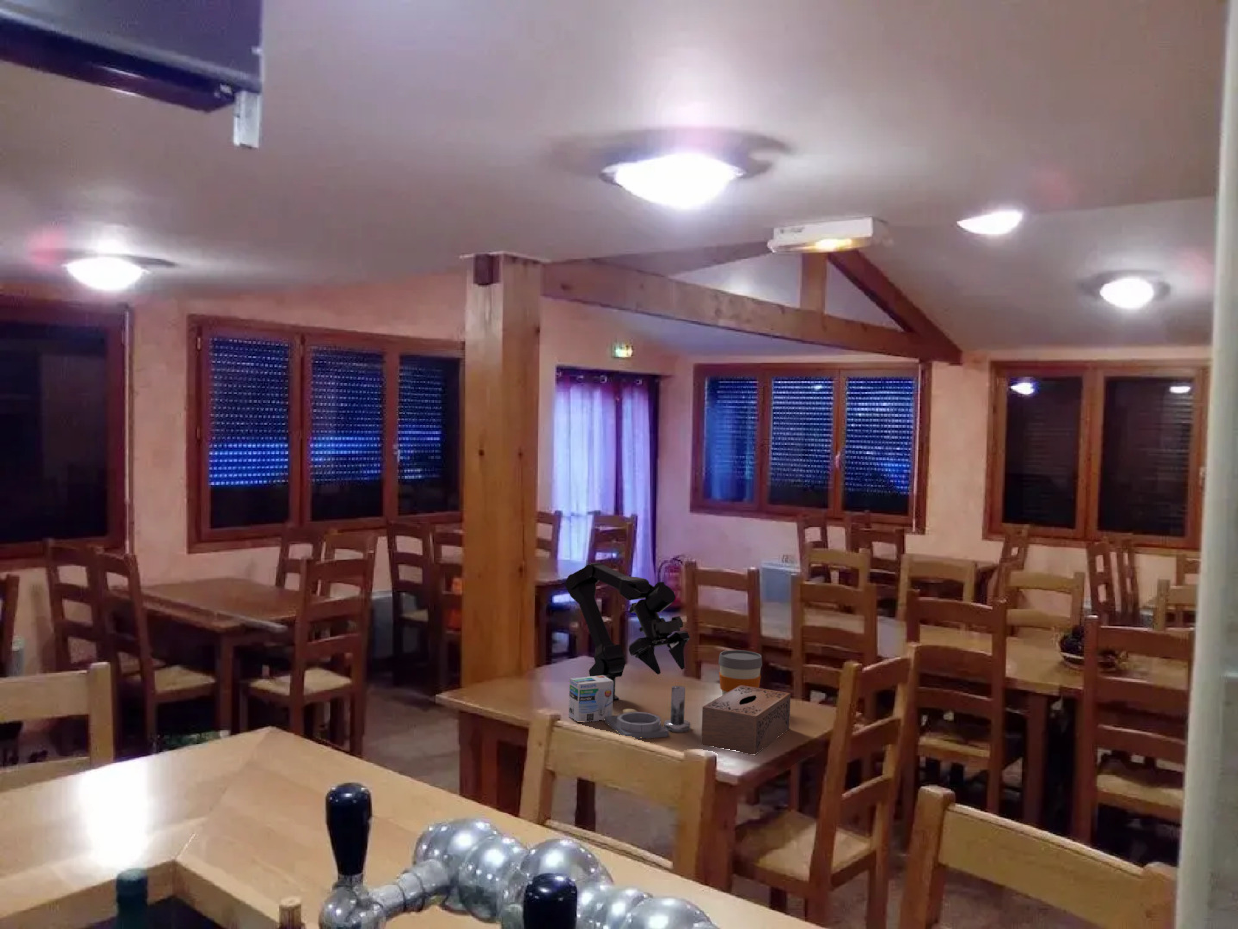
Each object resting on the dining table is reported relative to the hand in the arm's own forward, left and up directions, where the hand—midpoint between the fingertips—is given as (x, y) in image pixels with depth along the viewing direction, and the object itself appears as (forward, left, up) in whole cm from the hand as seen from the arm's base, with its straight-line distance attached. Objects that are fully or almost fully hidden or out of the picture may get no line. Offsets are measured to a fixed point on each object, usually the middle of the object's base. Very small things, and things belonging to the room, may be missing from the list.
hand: (671, 671), depth 275 cm
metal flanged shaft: (+7, -1, -14) cm, 15 cm away
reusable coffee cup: (-8, +25, -14) cm, 30 cm away
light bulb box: (-7, -20, -14) cm, 26 cm away
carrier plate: (+5, -12, -14) cm, 19 cm away
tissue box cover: (+18, +14, -14) cm, 27 cm away
